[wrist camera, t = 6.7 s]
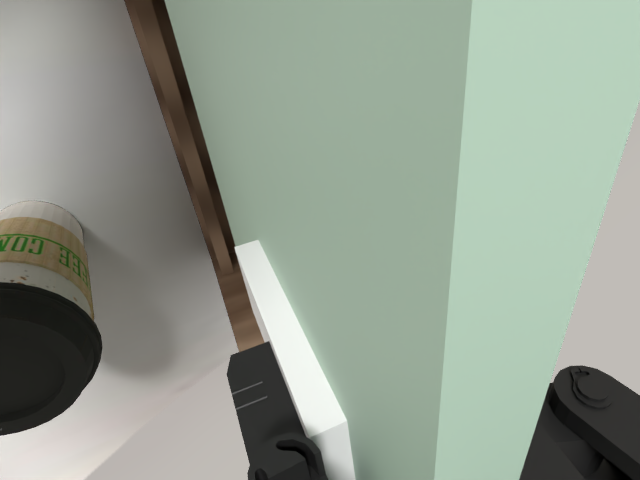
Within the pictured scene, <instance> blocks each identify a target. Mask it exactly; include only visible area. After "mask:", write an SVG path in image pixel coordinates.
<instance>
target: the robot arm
mask: <svg viewBox="0 0 640 480" xmlns="http://www.w3.org/2000/svg"><path fill="white" fill-rule="evenodd" d="M234 248H235V251H236V255H237V258H238V262H239V265H240V268H241V272H242V275H243V279H244V282H245V286H246V289H247V293H248V296H249V299H250V303H251V306H252V310H253V313H254V315H255V318H256V321H257V323H258V326H259V329H260V331H261V334H262V337H263V339H264V342H265V343H262V344H260V345H257V346H254V347H252V348H249V349H246V350H244V351H241V352H238V353H236V354H233V355H231V357H230V362H229V367H228V372H227V377H228V381H229V385H230V389H231V392H232V396H233V400H234V404H235V408H236V411H237V416H238V420H239V424H240V428H241V432H242V436H243V439H244V444H245V447H246V451H247V455H248V459H249V463H250V467H249V470H248V480H355V473H354V466H353V459H352V452H351V444H350V437H349V430H348V423H347V420H346V418H345V416H344V413H343V411H342V409H341V407H340V405H339V403H338V401H337V399H336V397H335V395H334V393H333V391H332V389H331V387H330V385H329V383H328V381H327V379H326V377H325V375H324V373H323V371H322V369H321V367H320V365H319V363H318V360H317V358H316V356H315V354H314V352H313V350H312V348H311V346H310V344H309V342H308V340H307V338H306V336H305V334H304V332H303V330H302V328H301V326H300V324H299V322H298V320H297V318H296V316H295V314H294V312H293V309H292V307H291V305H290V303H289V301H288V299H287V297H286V295H285V293H284V291H283V289H282V287H281V285H280V283H279V281H278V279H277V277H276V275H275V273H274V271H273V269H272V267H271V265H270V263H269V261H268V259H267V256H266V254H265V252H264V250H263V248H262V246H261V244H260V242H259V240H255V241H252V242H249V243H246V244H242V245H239V246H236V247H234ZM519 480H640V395H638V394H636V393H635V392H634V391H632V390H631V389H629V388H628V387H626V386H624V385H623V384H622V383H620V382H618V381H617V380H616V379H614V378H613V377H611V376H609V375H608V374H606V373H604V372H602V371H600V370H598V369H594V368H591V367H586V366H569V367H567V368H565V369H562V370H560V372H559V373H558V374H557V376H556V377H555V379H554V382H553V383H550V384H549V387H548V390H547V393H546V396H545V399H544V403H543V406H542V409H541V412H540V415H539V418H538V421H537V425H536V428H535V431H534V434H533V437H532V440H531V443H530V447H529V450H528V453H527V456H526V459H525V462H524V465H523V469H522V472H521V475H520V478H519Z"/></svg>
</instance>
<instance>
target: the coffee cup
mask: <svg viewBox="0 0 640 480" xmlns="http://www.w3.org/2000/svg"><path fill="white" fill-rule="evenodd" d="M101 353H102V341H101V335H100V333H99V330H98V328H97V326H96V324H95V322H94V312H93V303H92V295H91V286H90V278H89V269H88V261H87V254H86V251H85V249H84V241H83V232H82V229H81V226H80V224H79V223H78V221H77V220H76V218H74V217H73V216H72V215H71V214H70V213H69V212H68V211H66V210H65V209H63V208H61V207H59V206H57V205H54V204H51V203H47V202H41V201H25V202H19V203H16V204H13V205H10V206H8V207H6V208H5V209H3V210H2V211H1V212H0V436H1V435H7V434H12V433H17V432H21V431H24V430H27V429H31V428H34V427H36V426H39V425H41V424H43V423H46V422H48V421H50V420H52V419H53V418H55V417H56V416H58V415H60V414H61V413H63V412H64V411H65V410H66V409H67V408H69V407H70V406H71V405H72V404H73V403H74V402H75V401H76V399H77V398H78V397H79V395H80V394H81V392H82V390H83V389H84V388H85V387H86V386H87V384H88V383H89V382H90V381H91V379H92V378H93V376H94V374H95V372H96V370H97V367H98V364H99V362H100V359H101Z"/></svg>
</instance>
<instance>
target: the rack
mask: <svg viewBox="0 0 640 480" xmlns="http://www.w3.org/2000/svg"><path fill="white" fill-rule="evenodd" d="M124 1H125V4H126V7H127V10H128V13H129V16H130V19H131V22H132V25H133V28H134V31H135V34H136V37H137V39H138V42H139V45H140V48H141V51H142V54H143V57H144V60H145V63H146V66H147V69H148V72H149V75H150V78H151V81H152V84H153V87H154V90H155V93H156V96H157V99H158V102H159V105H160V108H161V111H162V114H163V117H164V120H165V123H166V126H167V129H168V132H169V134H170V137H171V140H172V143H173V146H174V149H175V152H176V155H177V158H178V161H179V164H180V167H181V170H182V173H183V176H184V179H185V182H186V185H187V188H188V191H189V194H190V197H191V200H192V203H193V206H194V209H195V212H196V215H197V218H198V221H199V224H200V227H201V229H202V232H203V235H204V238H205V241H206V244H207V247H208V250H209V253H210V256H211V259H212V263H213V266H214V269H215V273H216V276H217V279H218V283H219V286H220V289H221V293H222V296H223V299H224V303H225V306H226V309H227V313H228V316H229V319H230V323H231V326H232V329H233V333H234V336H235V339H236V343H237V346H238V349H239V352H241V351H244V350H246V349H249V348H252V347H254V346H257V345H260V344H262V343H265V342H264V339H263V337H262V334H261V331H260V329H259V326H258V323H257V321H256V318H255V315H254V313H253V310H252V306H251V303H250V299H249V296H248V293H247V289H246V286H245V282H244V279H243V275H242V272H241V268H240V265H239V262H238V258H237V255H236V251H235V248H234V247H236V246H235V243H234V239H233V236H232V233H231V229H230V226H229V222H228V219H227V215H226V212H225V208H224V205H223V201H222V198H221V194H220V191H219V187H218V184H217V181H216V177H215V174H214V170H213V167H212V163H211V160H210V156H209V153H208V149H207V146H206V142H205V139H204V136H203V132H202V129H201V125H200V122H199V118H198V115H197V111H196V108H195V104H194V101H193V97H192V94H191V91H190V87H189V84H188V80H187V77H186V73H185V70H184V66H183V63H182V59H181V56H180V52H179V49H178V46H177V42H176V39H175V35H174V32H173V28H172V25H171V21H170V18H169V14H168V11H167V7H166V4H165V1H164V0H124Z"/></svg>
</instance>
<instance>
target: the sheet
mask: <svg viewBox="0 0 640 480" xmlns="http://www.w3.org/2000/svg"><path fill="white" fill-rule="evenodd" d="M164 1H165V4H166V7H167V11H168V14H169V18H170V21H171V25H172V28H173V32H174V35H175V39H176V42H177V46H178V49H179V52H180V56H181V59H182V63H183V66H184V70H185V73H186V77H187V80H188V84H189V87H190V91H191V94H192V97H193V101H194V104H195V108H196V111H197V115H198V118H199V122H200V125H201V129H202V132H203V136H204V139H205V142H206V146H207V149H208V153H209V156H210V160H211V163H212V167H213V170H214V174H215V177H216V181H217V184H218V187H219V191H220V194H221V198H222V201H223V205H224V208H225V212H226V215H227V219H228V222H229V226H230V229H231V233H232V236H233V239H234V243H235V246H239V245H242V244H246V243H249V242H252V241H255V240H259V242H260V244H261V246H262V248H263V250H264V252H265V254H266V256H267V259H268V261H269V263H270V265H271V267H272V269H273V271H274V273H275V275H276V277H277V279H278V281H279V283H280V285H281V287H282V289H283V291H284V293H285V295H286V297H287V299H288V301H289V303H290V305H291V307H292V309H293V312H294V314H295V316H296V318H297V320H298V322H299V324H300V326H301V328H302V330H303V332H304V334H305V336H306V338H307V340H308V342H309V344H310V346H311V348H312V350H313V352H314V354H315V356H316V358H317V360H318V363H319V365H320V367H321V369H322V371H323V373H324V375H325V377H326V379H327V381H328V383H329V385H330V387H331V389H332V391H333V393H334V395H335V397H336V399H337V401H338V403H339V405H340V407H341V409H342V411H343V413H344V416H345V418H346V420H347V423H348V430H349V437H350V444H351V452H352V459H353V466H354V473H355V480H519V478H520V475H521V472H522V469H523V465H524V462H525V459H526V456H527V453H528V450H529V447H530V443H531V440H532V437H533V434H534V431H535V428H536V425H537V421H538V418H539V415H540V412H541V409H542V406H543V403H544V399H545V396H546V393H547V390H548V387H549V384H550V380H551V377H552V374H553V371H554V368H555V365H556V361H557V358H558V355H559V352H560V349H561V346H562V343H563V340H564V336H565V333H566V330H567V327H568V324H569V321H570V318H571V314H572V311H573V308H574V305H575V302H576V299H577V296H578V292H579V289H580V286H581V283H582V280H583V277H584V274H585V270H586V267H587V264H588V261H589V258H590V255H591V252H592V248H593V245H594V242H595V239H596V236H597V233H598V230H599V226H600V223H601V220H602V217H603V214H604V211H605V207H606V204H607V201H608V198H609V195H610V192H611V189H612V185H613V182H614V179H615V176H616V173H617V170H618V166H619V163H620V160H621V157H622V154H623V151H624V148H625V145H626V141H627V138H628V135H629V132H630V129H631V126H632V123H633V119H634V116H635V113H636V110H637V107H638V104H639V101H640V0H164Z"/></svg>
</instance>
